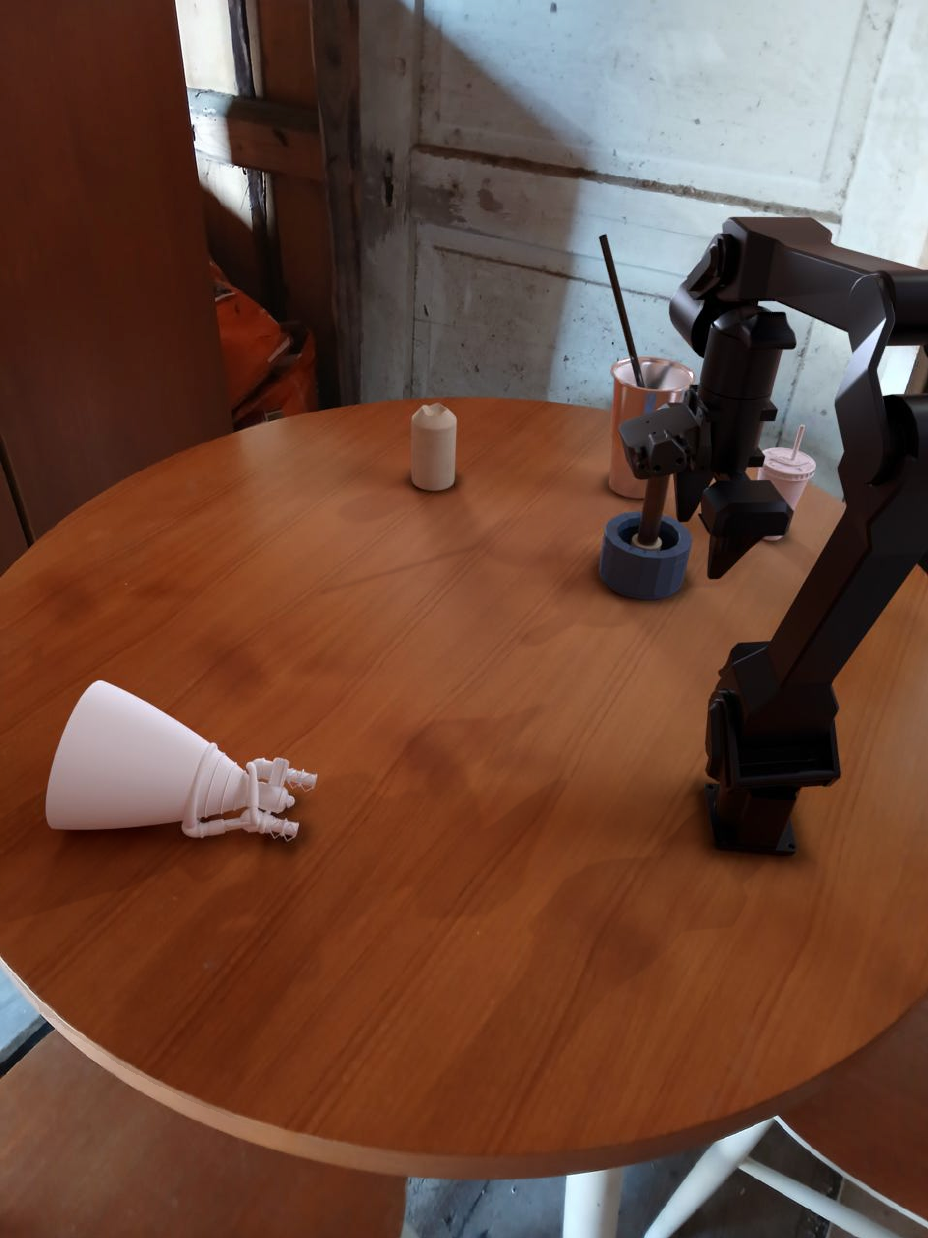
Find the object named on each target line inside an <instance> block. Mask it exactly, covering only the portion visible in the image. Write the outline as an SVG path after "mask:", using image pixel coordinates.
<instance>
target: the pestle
mask: <svg viewBox="0 0 928 1238" xmlns="http://www.w3.org/2000/svg"><path fill="white" fill-rule="evenodd" d="M670 480H671V475H668V476H665V477H662V478H654V477H653V478H650V479H648V480H647V485H646V491H645V496H644V498H643V503H642V508H641V511H642V513H641V518H640V524H639V529H638V534H635V535H634V536H633V537H632V542H631V546H632V547H635V548H638V549H642V550H645V551H660V550H661V545H662V541H661V539H660V538H659V537H658V535H659V530H660V525H661V520H662V515H664V509H665V505H666V500H667V495H668V490H669V484H670Z"/></svg>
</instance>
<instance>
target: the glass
mask: <svg viewBox="0 0 928 1238" xmlns="http://www.w3.org/2000/svg"><path fill="white" fill-rule="evenodd" d="M598 241H599V244H600V247H601V252H602V256H603V259H604V260H603V261H604V263H605V267H606V270H607V271H606V272H607V274H608V279H609V283H610V286H611V291H612V294H613V298H614V303H615V306H616V310H617V313H618V317H619V321H620V325H621V329H622V334H623V336H624V340H625V341H624V342H625V344H626V348H627V352H628V356H629V357H625V358H621V359H619V360H617V361H615V362H614V363H612V365H611V366H610V370H609V372H610V375H611V377H612V379H613V380H612V402H611V405H612V406H611V424H610V425H611V426H610V428H611V429H610V440H611V441H610V442H611V443H610V445H611V446H610V458H609V459H610V460H609V461H610V462H609V480H608V486H609V488H610V489H611V491H613V492H614V493H615V494H617V495H619V496H620V497H621V496H622V497H623V498H628V499H635V500H641V499H643V500H644V496H645V491H646V485H647V480H648V479H646V480H640V479H637V478H635V477H634V475H633V472H632V470H631V468H630V466H629V464H628V462H627V461H626V458H625V453H624V449H623V445H622V441H621V436H620V432H619V426H620V424H622V423H623V422H625V421H627V420H630V419H633V418H636V417H639V416H642V415H645V414H647V413H650V412H653V411H656V410H658V409H659V408H661V407H662V406H663V405H664V404H666V403H668V402H683V398H684V393H685V390H689V386H690V385H695V383H696V382H697V375H696V373H695V371H693V370H692V369H691V368H690V367H688V366H686V365H685V364H682V363H680V362H677V361H675V360H671V359H668V358H664V357H663V358H662V357H658V356H657V357H656V356H638V354H637V348H636V346H635V341H634V337H633V333H632V329H631V325H630V322H629V318H628V313H627V309H626V306H625V302H624V298H623V294H622V289H621V285H620V282H619V278H618V274H617V270H616V266H615V261H614V258H613V254H612V251H611V247H610V243H609V239H608V235H607V233H606V234H605V233H604V234H601V235H599V236H598Z"/></svg>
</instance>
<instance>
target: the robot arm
mask: <svg viewBox="0 0 928 1238" xmlns="http://www.w3.org/2000/svg"><path fill="white" fill-rule="evenodd" d="M721 229H722V233H721V232H719V233H718V232H717V233H716V234H714V235H713V236H712V238H711V239H710V241H709V243H708V244H707V247H706V249H705V250H704V252H703V254H702V255H701V256H700V260H699V261H698V262H697V263H696V264H695V266H694V267H693V268H692V269H691V271H690V272H689V273H688V274H687V276H686V279H685V280H684V281H683V282H681V283H680V285H679V286H678V287H677V289H676V290H675V291H674V294H673V295H672V296H671V298H670V300H669V304H668V317H669V320H670V322H671V324H672V327H673V328H674V329H675V330H676V332H678V334H679V335H680V336H681V338H682V339H683V340H684V341H685V342H686V344H688V346H689V347H690V348H691V349H692V351H693V352H694V353H695V354H696V355H697V356H698V357H699V358H702V359H703V361H702V366H701V372H700V375H699V381H698V384H694V385H690V386H689V390H685V393H684V398H683V402H668V403H666V404H664V405H663V406H662V407H661V408H659V409H658V410H656V411H653V412H650V413H647V414H645V415H642V416H639V417H636V418H633V419H630V420H627V421H625V422H623V423H622V424H620V426H619V432H620V436H621V441H622V445H623V449H624V453H625V458H626V461H627V462H628V464H629V466H630V468H631V470H632V472H633V475H634V477H635V478H637V479H640V480H646V479H650V478H653V477H654V478H662V477H665V476H668V475H670V476H671V475H672V477H673V479H672V481H673V491H674V502H675V503H674V504H675V516H676V521H678V522H680V523H688V522H690V520H691V519H692V517H693V516H694V515H695V513H696V511H697V509H698V507H699V505H700V512H697V517H698V519H699V520H700V522H701V523H702V525H703V527H704V529H705V531H706V532H707V534H709V541H708V551H707V552H708V554H707V563H706V565H707V567H706V576H707V578H708V580H720V579H722V577H724V576H725V575H726V574H727V573H728V572H729V571H730V570H731V569H732V568H733V567H734V566H735V565H736V564H737V563H738V562H739V561H740V560H741V559H742V558H743V557H744V556H745V555H746V554H747V553H748V552H749V551H750V550H751V549H753V547H754V546H756V545H757V544H758V543H760V542H761V541H762V540H764V539H763V538H764V537H766V536H782V537H784V536H785V535H786V534H788V532H789V530H790V526H791V523H792V520H793V516H794V513H795V510H794V511H793V509H792V508H791V507H790V505H789V504H788V503H787V501H786V500H785V498H784V497H783V496H782V494H781V493H780V492H779V490H778V489H777V488H776V487H775V485H774V484H773V483H772V482H771V481H770V480H757V479H751V478H750V476H749V475H748V473H747V472H746V471H747V469H750V468H751V469H752V468H754V469H755V468H758V467H763V464H764V460H765V455H764V454H763V452H762V451H763V450H761V448H760V447H759V444H760V440H761V438H762V437H761V436H762V433H763V428H764V425H765V422H776V420H777V415H778V412H779V408H777V406H776V405H775V404H774V403H773V401H772V400H771V398H772V394H773V390H774V387H775V383H776V380H777V379H776V378H777V375H778V371H779V368H780V363H781V360H782V356H783V352H784V351H791V350H795V349H796V348H797V343H798V342H797V337H796V333H795V331H794V330H793V329H792V327H791V325H790V324H789V321H788V318H787V313H786V311H772V310H771V309H769V308H767V307H764V306H762V305H759V302H777V303H778V304H780V305H784V306H785V307H788V308H790V309H792V310H795V311H797V312H799V313H802V314H804V315H806V316H808V317H811V318H813V319H815V320H817V321H820V322H822V323H824V324H827V325H829V326H831V327H834V328H836V329H838V330H840V331H843V332H845V333H847V335H848V341H849V345H850V349H851V357H850V359H849V362H848V364H847V367H846V370H845V372H844V374H843V377H842V380H841V383H840V385H839V387H838V390H837V393H836V395H835V397H834V404H833V406H834V411H835V414H836V420H837V425H838V430H839V434H840V438H841V439H840V440H841V444H842V449H843V453H842V455H841V457H840V460H839V463H838V465H837V475H838V478H839V482H840V486H841V490H842V493H843V497H844V502H845V509H844V511H843V514H842V515H841V516H840V519H839V521H838V522H837V524H836V526H835V527H834V529H833V530H832V533H831V534H830V536H829V538H828V540H827V541H826V543H825V545H824V547H823V549H822V550H821V552H820V554H819V555H818V557H817V559H816V561H815V562H814V564H813V566H812V568H811V569H810V571H809V573H808V575H806V578H805V579H804V582H803V583H802V585H801V587H800V589H799V590H798V592H797V594H796V595H795V597H794V599H793V601H792V603H791V604H790V606H789V608H788V609H787V611H786V613H785V615H784V616H783V618H782V620H781V622H780V623H779V625H778V627H777V629H776V631H775V632H774V634H773V636H772V637H771V639H770V640H762V641H745V642H744V641H743V642H737V643H736V644H735V645H734V646H733V647H732V648H731V649H730V651H729V653H728V656H727V659H726V662H725V664H724V665H723V666H722V667H721V668H720V669H719V670H717V675H718V676H719V677H720V678H719V680H718V681H717V682H716V685H715V688H714V691H712V692H711V694H710V697H709V699H708V703H707V713H706V726H705V738H704V739H705V740H704V746H705V749H704V750H705V753H706V755H707V762H706V765H705V769H704V772H705V773H706V776H707V777H708V778H711V779H712V780H714V781H716V783H715V782H714V783H713V782H707V783H705V784H704V786H703V794H704V799H705V806H706V811H707V817H708V823H709V828H710V833H711V839H712V844H713V846H714V848H716V849H717V850H718V849H719V850H727V851H740V852H749V853H750V852H752V853H763V854H764V853H765V854H776V855H777V854H778V855H786V856H787V855H790V856H793V855H795V854H796V853H797V852H798V844H797V840H796V836H795V832H794V829H793V825H792V824H793V823H792V821H791V816H792V815H793V811H794V808H795V805H796V803H797V802H798V798H799V796H800V793H801V790H802V788H813V787H823V788H827V787H828V788H829V787H832V786H833V785H834V784H835V783H836V782H837V781H839V779H841V777H842V771H841V762H840V761H841V760H840V755H839V745H838V736H837V727H836V719H835V718H836V717H837V715H838V713H839V711H840V705H839V702H838V699H837V696H836V693H835V689H834V686H833V683H834V681H835V679H836V678H837V676H838V675H839V674H840V672H841V671H842V670H843V668H844V666H845V665H846V664H847V662H848V661H849V660H850V658H851V657H852V655H853V654H854V653H855V651H856V650H857V648H858V647H859V645H861V643H862V642H863V640H864V639H865V637H866V635H867V634H868V633H869V632H870V630H871V629H872V627H873V626H874V624H875V623H876V622H877V620H878V619H879V618H880V616H881V615H882V613H883V612H884V611H885V609H886V608H887V606H888V605H889V604H890V602H891V601H892V600H893V598H894V596H895V595H896V594H897V592H898V591H899V589H900V588H901V586H902V585H903V584H904V582H905V581H906V580H907V578H908V577H909V575H910V574H911V573H912V571H913V570H914V568H915V567H916V566H917V564H918V563H919V561H920V560H921V559H922V557H923V556H924V554H925V553H927V551H928V393H927V392H925V393H891V394H885V395H883V391H882V387H881V383H880V378H879V373H878V368H879V365H880V364H881V361H882V358H883V355H884V353H885V350H886V347H918V346H919V347H923V352H924V354H925V356H926V358H927V359H928V269H923V268H919V267H915V266H912V265H908V264H905V263H902V262H901V263H900V262H897V261H893V260H890V259H886V258H882V257H880V256H876V255H872V254H868V253H864V252H860V251H858V250H853V249H849V248H846V247H842V246H840V245H839V246H838V245H836V244H834V243H833V242H832V239H833V235H834V234H833V232H832V231H831V229H830V228H828V227H826V226H825V225H824V224H823V223H820V221H818V220H817V219H815V218H814V217H811V216H729V217H728V218H726V219H725V220H724V221H723V222H722V225H721ZM713 480H715V481H714V482H713ZM712 482H713V483H712Z"/></svg>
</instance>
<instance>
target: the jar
mask: <svg viewBox="0 0 928 1238" xmlns="http://www.w3.org/2000/svg"><path fill="white" fill-rule="evenodd" d="M641 513H642V510H641V511H640V510H634V511H628V512H622V513H619V514H618V515H615V516H613V517H612V518H610V519H609V520H608V522H607V523H606V525H605V526H604V531H603V538H602V545H601V550H600V558H599V568H598V573H599V577H600V579H601V581H602V582H603V584H604V585H606V586H607V587H608V588H609V589H610V590H612V591H613V592H615V593H617V594H619V595H621V596H625V597H628V598H631V599H635V600H642V601H643V600H644V601H654V600H662V599H666V598H668V597H671V596H673V595H675V594H676V593H677V592H679V590H680V589H681V587H682V586H683V583H684V582H683V581H684V580H685V576H686V572H687V567H688V562H689V557H690V554H691V549H692V545H693V538H692V533H691V532H690V530H689V529H688V528H687V527H686V526H685V525H684V524H683V522H678V520H677V519H675V518H673V517H671V516H669V515H666V514H663V515H662V520H661V525H660V530H659V535H658V537H659V538H660V539H661V541H662V545H661V550H660V551H645V550H642V549H638V548H635V547H632V546H631V542H632V537H633V536H634V535H635V534H638V529H639V524H640V518H641Z"/></svg>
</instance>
